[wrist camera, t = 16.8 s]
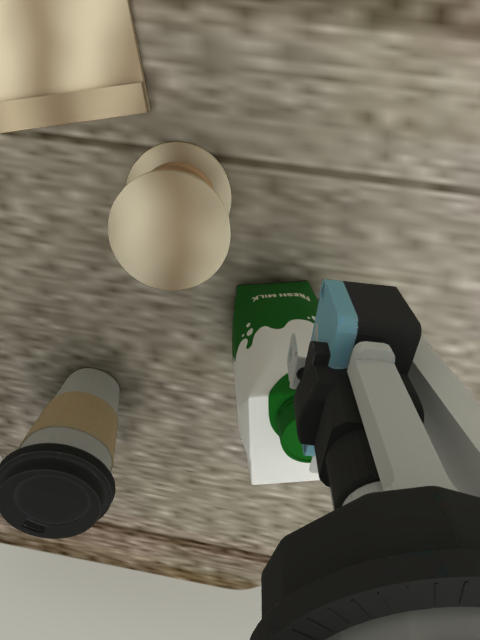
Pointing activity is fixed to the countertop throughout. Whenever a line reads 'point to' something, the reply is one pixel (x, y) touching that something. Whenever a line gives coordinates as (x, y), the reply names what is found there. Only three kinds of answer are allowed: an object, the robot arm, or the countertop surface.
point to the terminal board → (68, 63)
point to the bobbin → (172, 217)
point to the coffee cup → (65, 461)
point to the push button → (371, 490)
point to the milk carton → (271, 376)
